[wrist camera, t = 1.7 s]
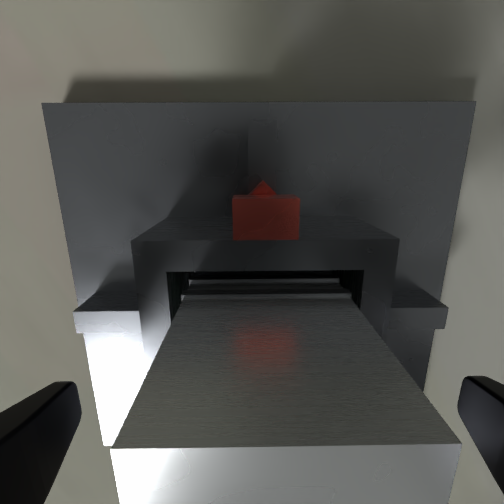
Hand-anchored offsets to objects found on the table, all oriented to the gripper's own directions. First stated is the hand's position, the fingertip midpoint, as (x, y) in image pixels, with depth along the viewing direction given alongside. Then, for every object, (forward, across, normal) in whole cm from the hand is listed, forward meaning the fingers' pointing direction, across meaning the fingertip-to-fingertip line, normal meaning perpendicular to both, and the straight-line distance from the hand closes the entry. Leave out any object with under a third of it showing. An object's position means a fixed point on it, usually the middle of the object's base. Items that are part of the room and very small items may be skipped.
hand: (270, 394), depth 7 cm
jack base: (+6, 0, 0) cm, 6 cm away
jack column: (+5, 0, 0) cm, 5 cm away
